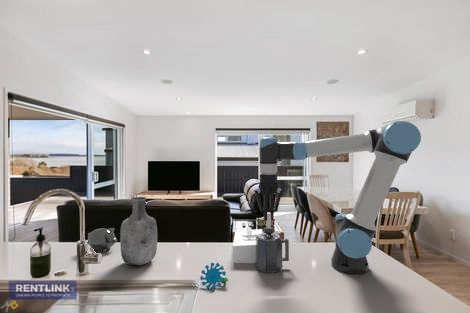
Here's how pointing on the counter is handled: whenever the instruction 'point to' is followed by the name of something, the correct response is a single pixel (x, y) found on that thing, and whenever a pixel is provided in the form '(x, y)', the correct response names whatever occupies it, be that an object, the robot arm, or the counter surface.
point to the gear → (213, 276)
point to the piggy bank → (102, 239)
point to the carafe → (270, 252)
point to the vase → (138, 235)
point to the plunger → (268, 231)
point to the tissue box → (245, 245)
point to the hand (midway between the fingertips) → (268, 227)
